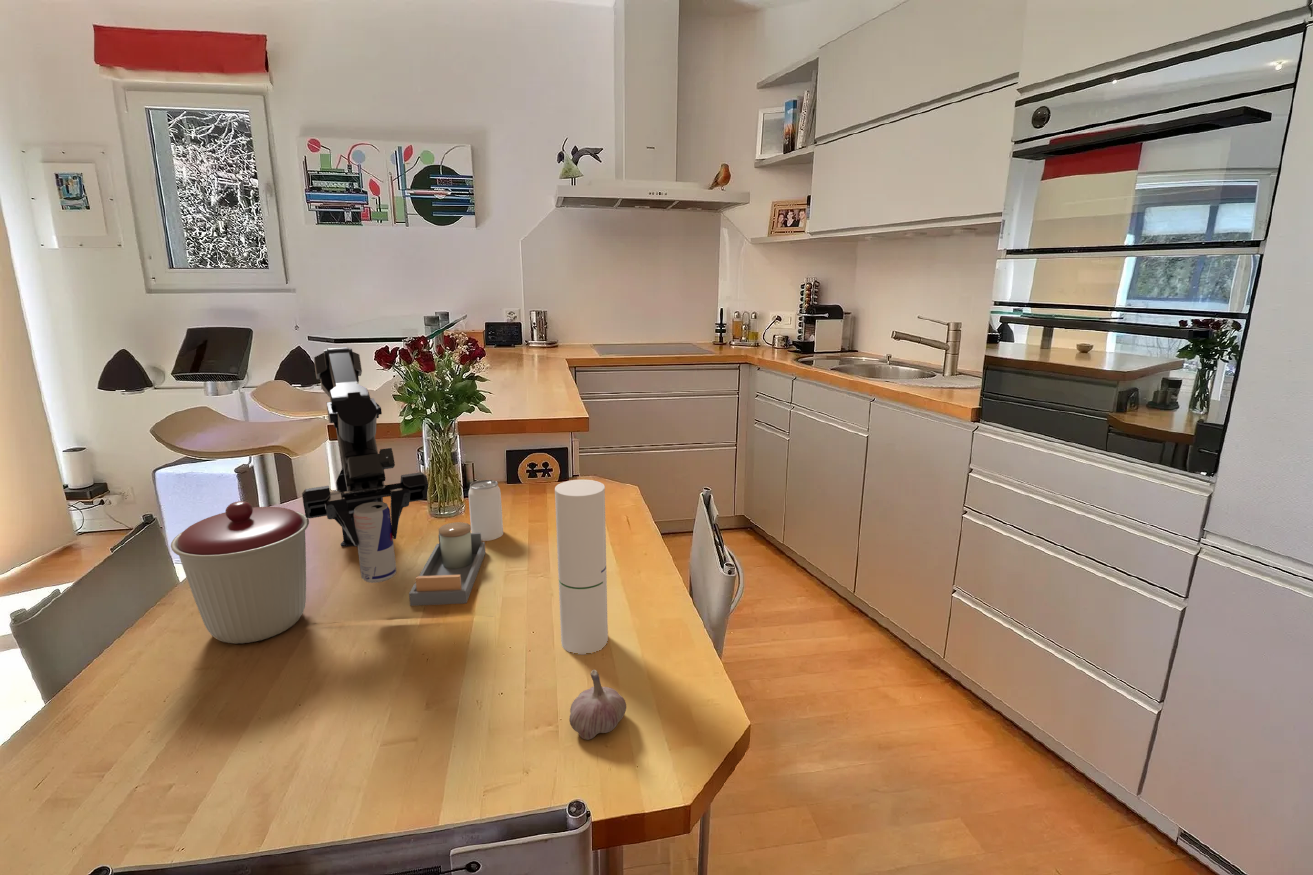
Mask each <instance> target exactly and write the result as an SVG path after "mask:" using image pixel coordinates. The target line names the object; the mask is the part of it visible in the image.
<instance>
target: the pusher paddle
mask: <svg viewBox="0 0 1313 875" xmlns="http://www.w3.org/2000/svg"><path fill="white" fill-rule="evenodd" d="M415 582H416V588H417V592H418V591H442V590H462V587H461V575H437V576H419V575H417V576H416V577H415Z"/></svg>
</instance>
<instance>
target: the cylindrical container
mask: <svg viewBox="0 0 1313 875" xmlns="http://www.w3.org/2000/svg"><path fill="white" fill-rule="evenodd" d="M605 490H606V489H605V484H604V483H603V482H600V481H597V480H592V479H571V480H567V481H562V482H561V483H558V484H557V485H555V486H554V501H555V503H554V504H555V523H556V524H555V525H556V548H557V572H558V577H557V578H558V591H559V592H558V594H559V596H558V597H559V600H558V601H559V620H560V621H559V622H560V642H561V644H562V645H561V647H562V648H563V650H565V651H566V652H568V653H570V652H573V653H572V654H574V653H578V654H577V655H587V654H586V653H591V654H593V653H592V652H595V653H597V652H596V651H598V652H599V650H600V651H602V650H603V649H604V648H605V647H606V646H607V645H606V643H607V644H608V642H609V630H608V629H609V628H608V627H609V626H608V624H609V623H608V587H607V586H608V585H607V581H608V580H607V578H608V577H607V576H608V575H607V544H606V543H607V540H606V537H607V536H606V535H607V534H606V495H605V494H606V491H605ZM607 641H608V642H607ZM605 645H606V646H605ZM604 646H605V647H604ZM603 647H604V648H603ZM602 648H603V649H602Z"/></svg>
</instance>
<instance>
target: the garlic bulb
mask: <svg viewBox="0 0 1313 875" xmlns="http://www.w3.org/2000/svg"><path fill="white" fill-rule="evenodd" d="M590 676H591V677H590V678H591V679H592V684H593V686H591V687H590V688H589V689H585V690H583V691H581V692H580V693H579V695H578V696H577V697H576V698H575V699H573V701H572V703H571V704H570V708H569V709H570V710H569V713H570V714H569V719H568V720H569V724H570V726H571V728H572V729H573V731H575V732H577V734H578V735H579V737H580V738H581V739H583V740H586V741H587V740H592V739H594V738H595V737H596V736H597V735H598V734H604V733H605V734H607V733H609V732H612V731H613V730H614V729H616V728H617V726H618V724H619V722H620V721H621V720H622V719H623V718H624V716H625V715H626V711H627V702H626V700H625V698H624V697H623V696H622V695H621V694H620V693H619V692H618V691H617V690H616V689H614V688H612V687H608V686H602V684H601V680H600V674H599V672H598V671H597V670H596V669H592V670H591V672H590Z"/></svg>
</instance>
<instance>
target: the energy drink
mask: <svg viewBox="0 0 1313 875" xmlns="http://www.w3.org/2000/svg"><path fill="white" fill-rule="evenodd" d="M354 510H355V511H354V514H353V515H354V523H355V531H356V536H357V542H358V546H357V554H358V562H359V568H360V569H359V570H360V578H361V580H363V581H364V582H366V583H371V584H372V583H376V584H377V583H381V582H385V581H388V580H390V579H392V578H393V577H395V575H396V573H397V564H396V562H397V561H396V556H395V555H396V554H395V545H394V539H393V535H392V526H391V508H390V507H389V504H387V502H384V501H383V502H369V503H364V504H361V505H359V506H357V507H356V508H355V509H354Z"/></svg>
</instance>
